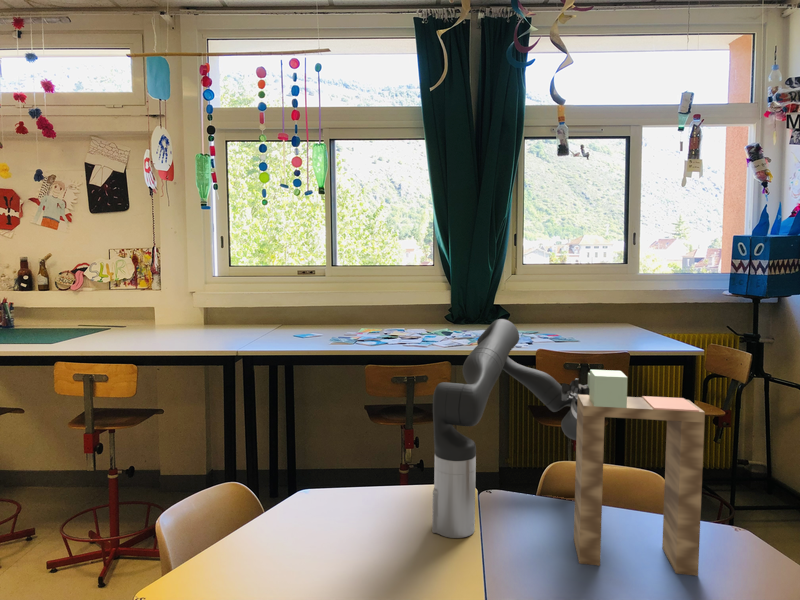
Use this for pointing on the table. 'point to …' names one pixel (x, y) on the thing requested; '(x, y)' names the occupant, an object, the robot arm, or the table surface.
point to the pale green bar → (608, 388)
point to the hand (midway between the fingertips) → (596, 383)
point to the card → (669, 403)
